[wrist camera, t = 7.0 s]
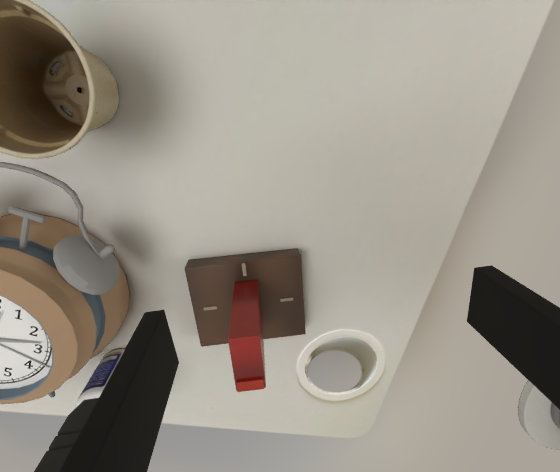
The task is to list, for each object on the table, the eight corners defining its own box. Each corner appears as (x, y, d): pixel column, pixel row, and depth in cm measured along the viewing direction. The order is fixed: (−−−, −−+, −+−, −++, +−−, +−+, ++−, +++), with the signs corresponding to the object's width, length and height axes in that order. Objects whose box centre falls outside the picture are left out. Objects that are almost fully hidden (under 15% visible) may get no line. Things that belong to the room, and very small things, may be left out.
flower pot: (127, 162, 30) (81, 178, 22) (18, 125, 28) (-77, 128, 20) (150, 57, 27) (106, 31, 19) (30, 8, 25) (-75, -44, 17)
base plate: (298, 248, 34) (301, 256, 32) (303, 323, 38) (305, 335, 36) (188, 259, 34) (184, 268, 32) (203, 335, 37) (200, 347, 35)
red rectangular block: (234, 282, 33) (227, 341, 24) (257, 280, 33) (259, 337, 24) (240, 325, 35) (236, 394, 26) (262, 323, 35) (266, 390, 26)
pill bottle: (98, 377, 38) (56, 449, 30) (105, 343, 37) (62, 409, 28) (142, 385, 39) (114, 457, 31) (151, 353, 38) (123, 419, 29)
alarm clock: (-148, 402, 26) (-163, 128, 19) (-48, 331, 34) (-33, 124, 28) (71, 441, 29) (126, 221, 22) (112, 367, 38) (161, 192, 31)
